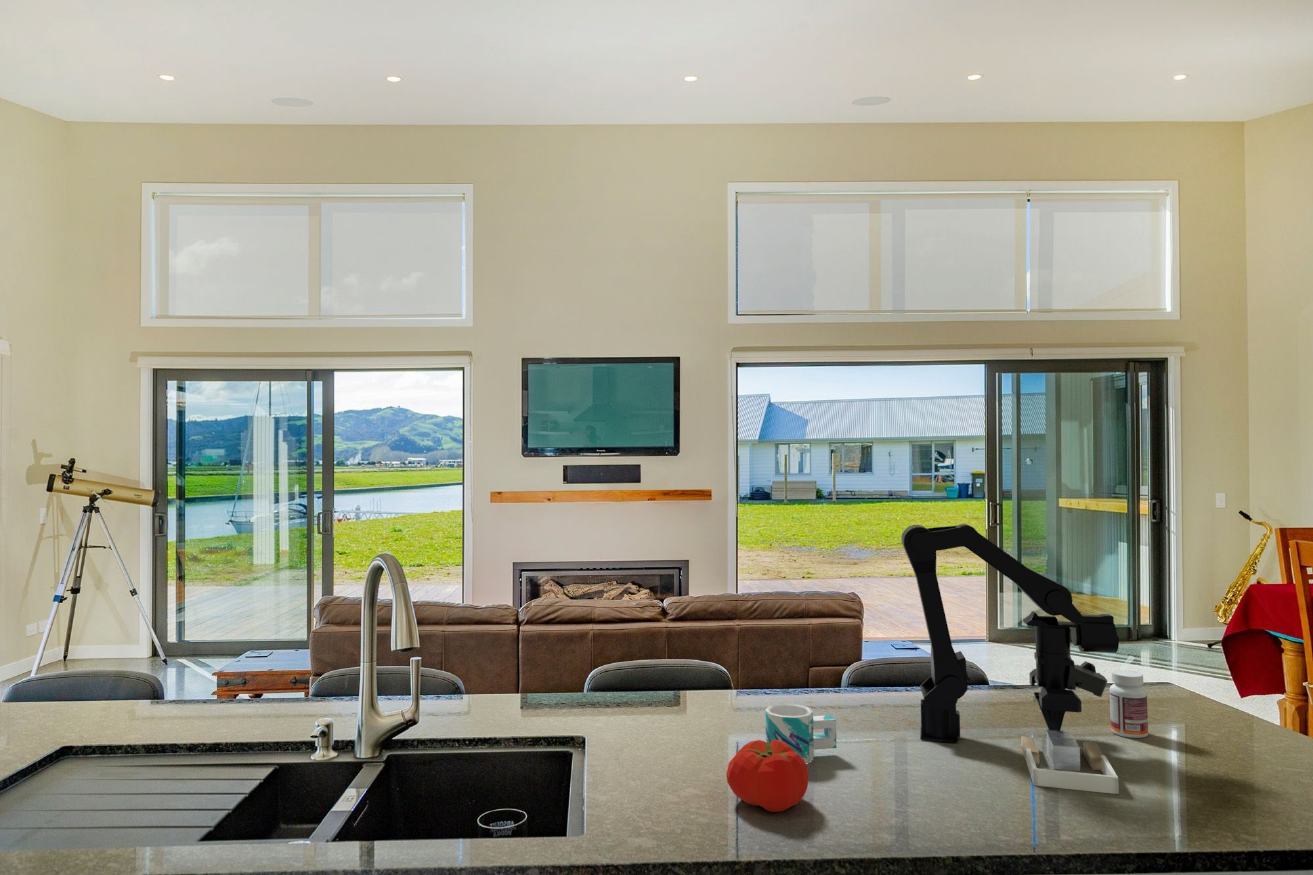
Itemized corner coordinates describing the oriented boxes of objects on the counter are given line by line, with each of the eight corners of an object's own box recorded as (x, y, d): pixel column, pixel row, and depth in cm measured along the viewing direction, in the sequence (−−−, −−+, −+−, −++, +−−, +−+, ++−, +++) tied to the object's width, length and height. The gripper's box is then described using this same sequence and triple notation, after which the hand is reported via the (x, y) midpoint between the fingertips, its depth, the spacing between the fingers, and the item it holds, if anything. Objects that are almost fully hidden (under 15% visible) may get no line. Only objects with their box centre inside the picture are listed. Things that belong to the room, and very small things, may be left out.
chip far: (1049, 760, 142) (1049, 736, 142) (1046, 752, 146) (1046, 729, 146) (1075, 762, 141) (1075, 739, 141) (1071, 754, 145) (1071, 731, 145)
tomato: (724, 786, 132) (723, 732, 132) (803, 787, 131) (802, 733, 131) (729, 821, 119) (728, 761, 119) (815, 821, 118) (815, 762, 119)
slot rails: (1026, 763, 140) (1026, 751, 140) (1021, 747, 148) (1021, 736, 148) (1105, 770, 137) (1105, 758, 137) (1096, 754, 144) (1095, 742, 144)
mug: (761, 751, 147) (760, 704, 148) (825, 747, 149) (824, 700, 150) (775, 768, 139) (774, 718, 140) (842, 763, 141) (842, 714, 141)
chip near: (1053, 769, 138) (1053, 745, 138) (1050, 761, 142) (1049, 737, 142) (1080, 772, 136) (1079, 747, 137) (1076, 763, 140) (1075, 739, 140)
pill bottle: (1154, 734, 154) (1153, 673, 154) (1137, 741, 151) (1136, 678, 151) (1121, 726, 159) (1119, 667, 160) (1103, 732, 156) (1102, 671, 156)
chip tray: (1033, 785, 131) (1033, 769, 131) (1026, 763, 140) (1026, 748, 140) (1118, 794, 127) (1118, 777, 127) (1105, 770, 137) (1105, 755, 137)
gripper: (1113, 665, 139) (1116, 759, 138) (1092, 642, 157) (1094, 725, 156) (1041, 661, 142) (1043, 752, 142) (1028, 639, 160) (1030, 720, 160)
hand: (1054, 737), depth 150 cm, fingers closed
